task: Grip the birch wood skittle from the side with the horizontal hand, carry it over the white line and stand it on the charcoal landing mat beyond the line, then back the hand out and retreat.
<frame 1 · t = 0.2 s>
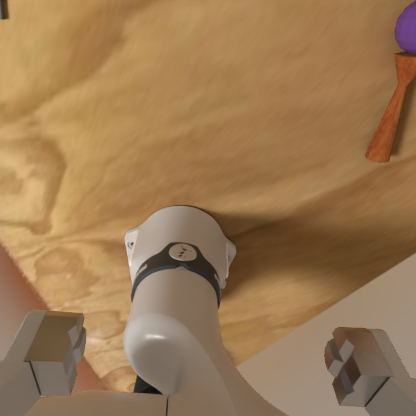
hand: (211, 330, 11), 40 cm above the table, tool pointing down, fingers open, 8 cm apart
kendama: (391, 84, 46), on the table
pen holder: (163, 355, 70), on the table
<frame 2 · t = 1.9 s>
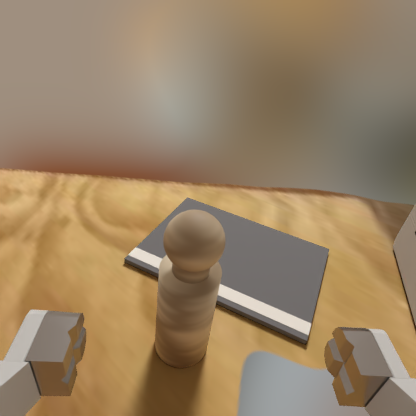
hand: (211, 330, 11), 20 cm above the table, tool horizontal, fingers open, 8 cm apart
skittle: (181, 342, 32), on the table
landing mat: (233, 257, 43), on the table
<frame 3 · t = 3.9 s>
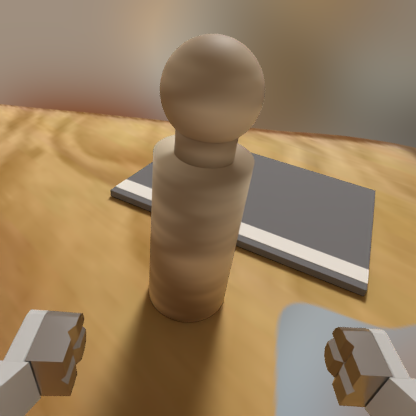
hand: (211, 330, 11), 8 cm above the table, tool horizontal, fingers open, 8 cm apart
skittle: (187, 289, 22), on the table
landing mat: (253, 195, 33), on the table
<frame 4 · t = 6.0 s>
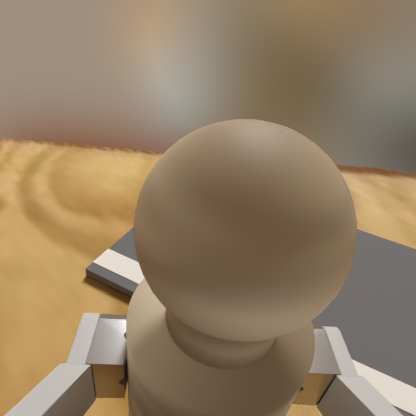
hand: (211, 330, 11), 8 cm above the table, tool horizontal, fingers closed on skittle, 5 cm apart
landing mat: (274, 265, 25), on the table
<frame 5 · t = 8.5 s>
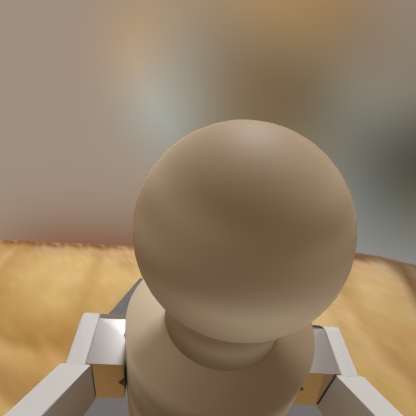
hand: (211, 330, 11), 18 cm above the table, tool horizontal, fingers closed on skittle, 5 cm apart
landing mat: (202, 402, 26), on the table
when the fingers open (10 cm above the table, at t = 11.1 s): skittle drops 1 cm, resting on landing mat.
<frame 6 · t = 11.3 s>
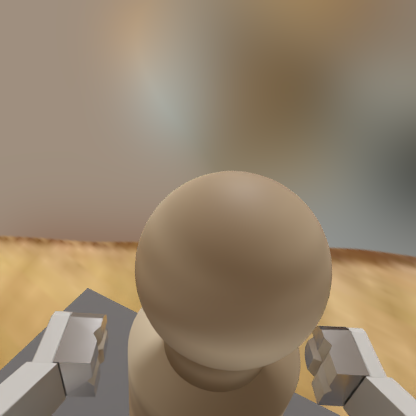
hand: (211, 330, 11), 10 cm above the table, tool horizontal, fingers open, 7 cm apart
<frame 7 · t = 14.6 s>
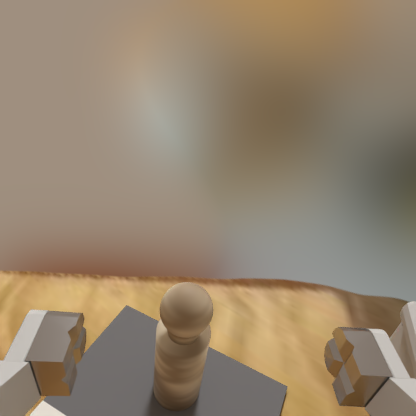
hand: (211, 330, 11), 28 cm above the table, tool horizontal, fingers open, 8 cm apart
skittle: (176, 386, 36), point 1 cm above the table, touching landing mat
landing mat: (166, 405, 35), on the table
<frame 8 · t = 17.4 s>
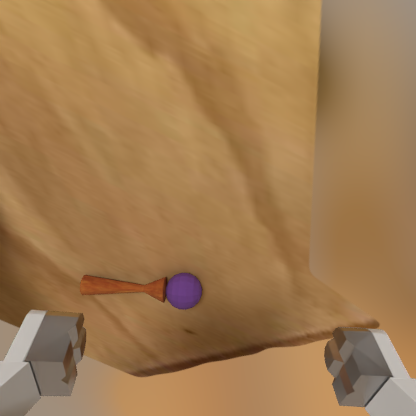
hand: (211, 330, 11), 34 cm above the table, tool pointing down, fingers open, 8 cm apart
kendama: (144, 276, 58), on the table
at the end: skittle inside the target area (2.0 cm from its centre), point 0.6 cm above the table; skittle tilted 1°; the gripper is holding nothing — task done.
